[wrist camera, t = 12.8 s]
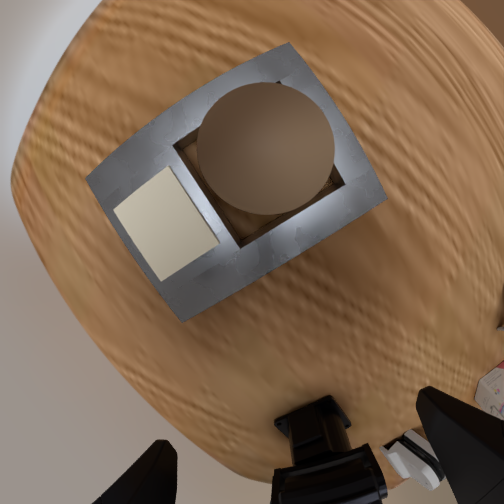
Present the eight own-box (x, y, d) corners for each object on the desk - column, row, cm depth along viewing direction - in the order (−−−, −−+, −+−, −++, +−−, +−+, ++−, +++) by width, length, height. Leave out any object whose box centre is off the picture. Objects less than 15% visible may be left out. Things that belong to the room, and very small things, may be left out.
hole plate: (371, 195, 18) (389, 198, 15) (189, 307, 20) (181, 324, 18) (284, 57, 16) (289, 40, 13) (102, 177, 18) (82, 178, 15)
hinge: (378, 447, 26) (424, 484, 17) (402, 423, 27) (451, 455, 18) (398, 474, 30) (431, 500, 20) (416, 456, 31) (450, 480, 21)
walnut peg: (303, 164, 18) (360, 148, 8) (259, 210, 18) (270, 242, 9) (255, 121, 17) (262, 59, 7) (211, 167, 18) (169, 152, 8)
